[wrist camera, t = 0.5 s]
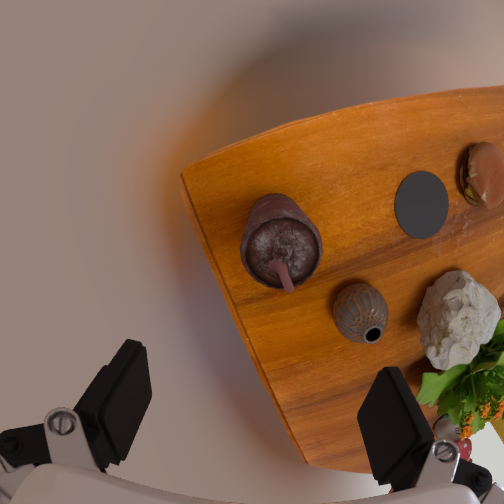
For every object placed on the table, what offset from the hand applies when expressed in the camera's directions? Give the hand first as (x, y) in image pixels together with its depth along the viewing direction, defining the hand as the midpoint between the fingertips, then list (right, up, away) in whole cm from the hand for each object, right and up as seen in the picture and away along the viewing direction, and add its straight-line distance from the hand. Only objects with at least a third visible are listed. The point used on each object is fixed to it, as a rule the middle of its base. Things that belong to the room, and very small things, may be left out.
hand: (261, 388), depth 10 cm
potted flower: (+41, -13, +28) cm, 52 cm away
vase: (+13, -1, +26) cm, 29 cm away
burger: (+33, +16, +20) cm, 42 cm away
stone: (+31, -3, +26) cm, 40 cm away
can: (+2, +9, +23) cm, 25 cm away
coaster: (+22, +11, +22) cm, 33 cm away
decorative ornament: (+46, -35, +35) cm, 67 cm away
